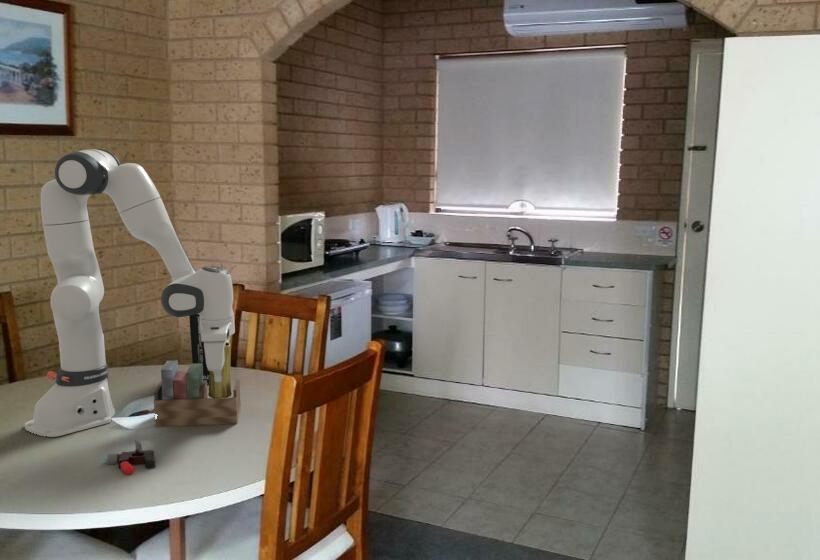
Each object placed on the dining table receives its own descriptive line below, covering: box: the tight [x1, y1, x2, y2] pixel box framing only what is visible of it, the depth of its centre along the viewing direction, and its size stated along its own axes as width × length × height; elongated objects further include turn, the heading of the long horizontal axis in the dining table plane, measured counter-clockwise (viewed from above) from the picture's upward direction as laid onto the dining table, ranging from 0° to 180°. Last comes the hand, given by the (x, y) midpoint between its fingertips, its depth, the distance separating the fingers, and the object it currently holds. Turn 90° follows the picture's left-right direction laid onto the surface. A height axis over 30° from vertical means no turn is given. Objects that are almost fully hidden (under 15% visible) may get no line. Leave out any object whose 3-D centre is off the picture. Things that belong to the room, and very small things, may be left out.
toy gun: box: [103, 439, 156, 476], centre depth 173 cm, size 10×12×5 cm
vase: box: [207, 342, 233, 398], centre depth 203 cm, size 6×6×14 cm
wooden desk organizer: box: [153, 360, 242, 428], centre depth 203 cm, size 21×11×15 cm, turn 97°
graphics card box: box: [188, 314, 210, 384], centre depth 239 cm, size 17×7×27 cm, turn 179°
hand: (219, 377), depth 203 cm, fingers closed on vase, 5 cm apart
